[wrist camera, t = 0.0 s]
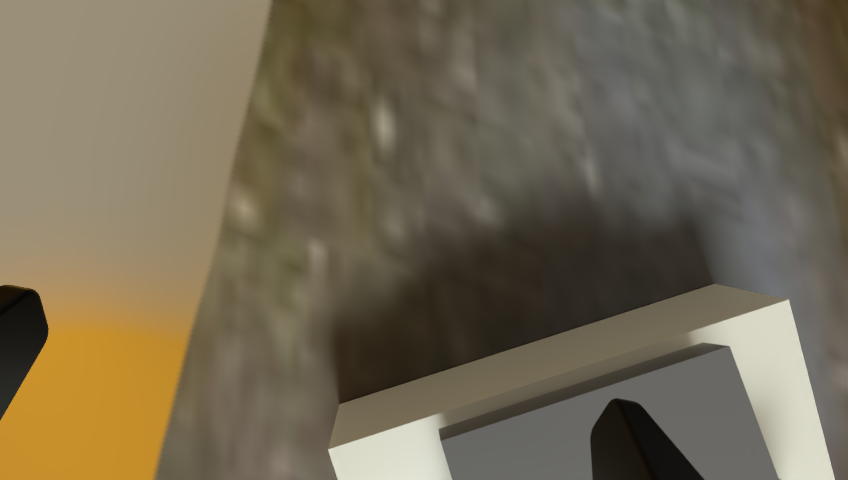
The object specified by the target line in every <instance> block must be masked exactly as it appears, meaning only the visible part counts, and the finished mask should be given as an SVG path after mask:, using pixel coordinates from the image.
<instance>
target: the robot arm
mask: <svg viewBox="0 0 848 480" xmlns="http://www.w3.org/2000/svg"><path fill="white" fill-rule="evenodd" d="M47 337H48V324H47V321H46V317H45V314H44V310H43V306H42V303H41V299H40V296H39V294H38V293H37V292H36V291H35V290H33V289H30V288H24V287H19V286H14V285H3V286H0V420H1V418H2V417H3V415H4V413H5V411H6V410H7V408H8V406H9V404H10V403H11V401H12V399H13V398H14V396H15V394H16V393H17V391H18V389H19V387H20V386H21V384H22V382H23V380H24V379H25V377H26V375H27V373H28V372H29V370H30V368H31V367H32V365H33V363H34V362H35V360H36V358H37V356H38V355H39V353H40V351H41V349H42V348H43V346H44V344H45V342H46V340H47ZM590 448H591V464H592V480H705V479H704V478H703V477H702V476H701V475H700V473H699V472H698V471H697V470H696V469H695V468H694V466H693V465H692V464H691V463H690V462H689V460H688V459H687V458H686V457H685V456H684V455H683V453H682V452H681V451H680V450H679V449H678V448H677V446H676V445H675V444H674V443H673V442H672V440H671V439H670V438H669V437H668V436H667V435H666V433H665V432H664V431H663V430H662V429H661V428H660V426H659V425H658V424H657V423H656V422H655V420H654V419H653V418H652V417H651V416H650V415H649V413H648V412H647V411H646V410H645V409H644V408H643V407H642V406H641V405H640V404H639V403H637V402H635V401H630V400H624V399H619V398H614V399H612V400H611V401H610V402H609V403H608V404H607V406H606V407H605V409H604V411H603V412H602V414H601V415H600V417H599V418H598V420H597V421H596V423H595V424H594V426H593V428H592V431H591V435H590Z"/></svg>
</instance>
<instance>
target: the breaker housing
mask: <svg viewBox="0 0 848 480" xmlns="http://www.w3.org/2000/svg"><path fill="white" fill-rule="evenodd" d="M703 342H704V343H711V344H718V345H726V346H730V348H731V351H732V354H733V357H734V359H735V362H736V365H737V367H738V370H739V373H740V375H741V378H742V381H743V384H744V386H745V389H746V392H747V394H748V397H749V400H750V403H751V405H752V408H753V411H754V413H755V416H756V419H757V421H758V424H759V427H760V430H761V432H762V435H763V438H764V440H765V443H766V446H767V448H768V451H769V454H770V457H771V459H772V462H773V465H774V467H775V470H776V473H777V475H778V478H779V480H835V478H834V475H833V471H832V467H831V463H830V459H829V455H828V451H827V447H826V443H825V439H824V435H823V432H822V428H821V424H820V420H819V416H818V412H817V408H816V404H815V400H814V396H813V392H812V389H811V385H810V381H809V377H808V373H807V369H806V365H805V361H804V357H803V353H802V350H801V346H800V342H799V338H798V334H797V330H796V326H795V322H794V318H793V314H792V310H791V307H790V303H789V300H788V299H784V298H779V297H774V296H770V295H765V294H760V293H756V292H751V291H746V290H741V289H737V288H732V287H727V286H723V285H718V284H712V285H709V286H706V287H703V288H700V289H697V290H694V291H690V292H687V293H684V294H681V295H678V296H675V297H672V298H669V299H666V300H662V301H659V302H656V303H653V304H650V305H647V306H644V307H641V308H638V309H634V310H631V311H628V312H625V313H622V314H619V315H616V316H613V317H610V318H606V319H603V320H600V321H597V322H594V323H591V324H588V325H585V326H582V327H578V328H575V329H572V330H569V331H566V332H563V333H560V334H557V335H554V336H550V337H547V338H544V339H541V340H538V341H535V342H532V343H529V344H526V345H522V346H519V347H516V348H513V349H510V350H507V351H504V352H501V353H498V354H494V355H491V356H488V357H485V358H482V359H479V360H476V361H473V362H469V363H466V364H463V365H460V366H457V367H454V368H451V369H448V370H445V371H441V372H438V373H435V374H432V375H429V376H426V377H423V378H420V379H417V380H413V381H410V382H407V383H404V384H401V385H398V386H395V387H392V388H389V389H385V390H382V391H379V392H376V393H373V394H370V395H367V396H364V397H361V398H357V399H354V400H351V401H348V402H345V403H342V404H339V408H338V412H337V416H336V420H335V424H334V428H333V432H332V436H331V440H330V444H329V448H328V451H329V454H330V457H331V460H332V463H333V466H334V469H335V472H336V475H337V478H338V480H452V477H451V474H450V471H449V467H448V464H447V461H446V457H445V454H444V451H443V448H442V444H441V441H440V436H439V430H438V429H440V428H443V427H446V426H449V425H452V424H455V423H458V422H461V421H464V420H467V419H470V418H473V417H477V416H480V415H483V414H486V413H489V412H492V411H495V410H498V409H501V408H504V407H507V406H510V405H513V404H516V403H519V402H522V401H525V400H528V399H532V398H535V397H538V396H541V395H544V394H547V393H550V392H553V391H556V390H559V389H562V388H565V387H568V386H571V385H574V384H577V383H580V382H583V381H587V380H590V379H593V378H596V377H599V376H602V375H605V374H608V373H611V372H614V371H617V370H620V369H623V368H626V367H629V366H632V365H635V364H638V363H642V362H645V361H648V360H651V359H654V358H657V357H660V356H663V355H666V354H669V353H672V352H675V351H678V350H681V349H684V348H687V347H690V346H693V345H697V344H700V343H703Z"/></svg>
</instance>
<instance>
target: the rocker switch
mask: <svg viewBox="0 0 848 480" xmlns="http://www.w3.org/2000/svg"><path fill="white" fill-rule="evenodd" d="M614 398H619V399H624V400H630V401H635V402H637V403H639V404H640V405H641V406H642V407H643V408H644V409H645V410H646V411H647V412H648V413H649V415H650V416H651V417H652V418H653V419H654V420H655V422H656V423H657V424H658V425H659V426H660V428H661V429H662V430H663V431H664V432H665V433H666V435H667V436H668V437H669V438H670V439H671V440H672V442H673V443H674V444H675V445H676V446H677V448H678V449H679V450H680V451H681V452H682V453H683V455H684V456H685V457H686V458H687V459H688V460H689V462H690V463H691V464H692V465H693V466H694V468H695V469H696V470H697V471H698V472H699V473H700V475H701V476H702V477H703V478H704V479H705V480H779V478H778V475H777V473H776V470H775V467H774V465H773V462H772V459H771V457H770V454H769V451H768V448H767V446H766V443H765V440H764V438H763V435H762V432H761V430H760V427H759V424H758V421H757V419H756V416H755V413H754V411H753V408H752V405H751V403H750V400H749V397H748V394H747V392H746V389H745V386H744V384H743V381H742V378H741V375H740V373H739V370H738V367H737V365H736V362H735V359H734V357H733V354H732V351H731V348H730V346H726V345H718V344H711V343H704V342H703V343H700V344H697V345H693V346H690V347H687V348H684V349H681V350H678V351H675V352H672V353H669V354H666V355H663V356H660V357H657V358H654V359H651V360H648V361H645V362H642V363H638V364H635V365H632V366H629V367H626V368H623V369H620V370H617V371H614V372H611V373H608V374H605V375H602V376H599V377H596V378H593V379H590V380H587V381H583V382H580V383H577V384H574V385H571V386H568V387H565V388H562V389H559V390H556V391H553V392H550V393H547V394H544V395H541V396H538V397H535V398H532V399H528V400H525V401H522V402H519V403H516V404H513V405H510V406H507V407H504V408H501V409H498V410H495V411H492V412H489V413H486V414H483V415H480V416H477V417H473V418H470V419H467V420H464V421H461V422H458V423H455V424H452V425H449V426H446V427H443V428H440V429H438V430H439V436H440V441H441V444H442V448H443V451H444V454H445V457H446V461H447V464H448V467H449V471H450V474H451V477H452V480H592V464H591V448H590V435H591V431H592V428H593V426H594V424H595V423H596V421H597V420H598V418H599V417H600V415H601V414H602V412H603V411H604V409H605V407H606V406H607V404H608V403H609V402H610V401H611V400H612V399H614Z"/></svg>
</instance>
